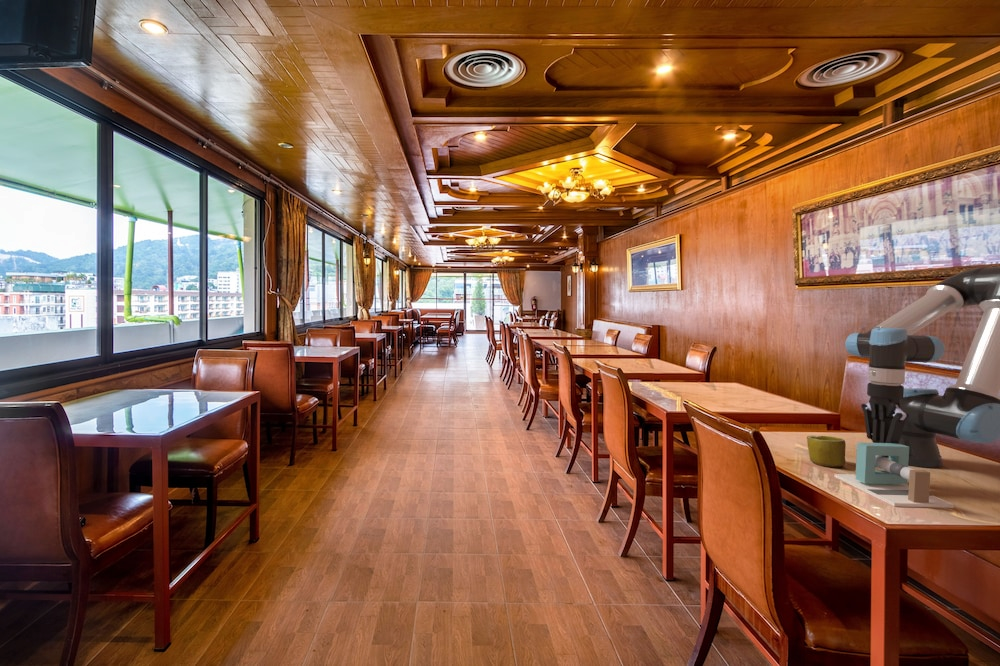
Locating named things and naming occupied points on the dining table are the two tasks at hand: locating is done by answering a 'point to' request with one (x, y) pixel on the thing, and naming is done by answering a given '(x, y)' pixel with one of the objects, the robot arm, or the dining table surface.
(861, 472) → the collar
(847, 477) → the pipe rail
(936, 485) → the dining table surface
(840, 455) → the mug
